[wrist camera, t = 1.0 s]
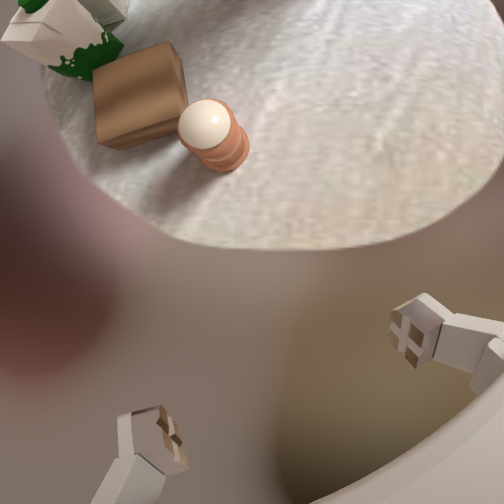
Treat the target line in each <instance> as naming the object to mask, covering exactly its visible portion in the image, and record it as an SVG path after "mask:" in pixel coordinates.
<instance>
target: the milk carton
mask: <svg viewBox="0 0 504 504" xmlns="http://www.w3.org/2000/svg"><path fill="white" fill-rule="evenodd" d="M18 5H19V6H20V8H19V9H18V11H17V12H16V14H15V15H14V16H13V18H12V20H11V21H10V25H9V27H8V28H7V30H6V32H5V33H4V35H3V37H2V39H1V42H3V43H5V44H7V45H9V46H11V47H12V48H14V49H15V50H17V51H19V52H21V53H22V54H24V55H26V56H28V57H29V58H31V59H33V60H35V61H37V62H39V63H41V64H43V65H44V66H46V67H48V68H50V69H52V70H54V71H56V72H57V73H59V74H61V75H64V76H68V77H73V78H78V79H82V80H87V81H91V82H93V70H94V69H97V68H99V67H101V66H103V65H106V64H108V63H110V62H113V61H115V60H116V58H117V57H118V55H119V53H120V51H121V50H122V48H123V46H124V45H123V44H122V43H121V42H120V41H119V40H118V39H117V38H116V37H115V36H114V35H113V34H112V33H110V32H109V31H108V30H107V29H106V28H105V27H104V26H103V25H102V24H101V23H100V22H99V21H98V20H97V19H96V18H95V17H94V16H93V15H91V14H90V13H89V12H88V11H87V10H86V9H85V8H84V7H83V6H82V5H81V4H80V3H79V2H78V1H77V0H18Z"/></svg>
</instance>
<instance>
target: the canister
mask: <svg viewBox="0 0 504 504" xmlns="http://www.w3.org/2000/svg"><path fill="white" fill-rule="evenodd" d="M177 132H178V137H179V139H180V141H181V143H182V144H183V145H184V146H185V147H186V148H187V149H188V150H190V151H191V152H193V153H194V154H196V155H197V156H199V159H200V160H201V162H202V163H203V164H204V165H205V166H207V167H208V168H210V169H212V170H214V171H218V172H228V171H232V170H234V169H236V168H238V167H239V166H240V165H241V164H242V163H243V162H244V161H245V159H246V158H247V155H248V152H249V140H248V137H247V135H246V133H245V131H244V130H243V129H242V128H241V127H240V126H239V125H238V124H237V122H236V119H235V117H234V115H233V112H232V111H231V109H230V108H229V107H228V106H227V105H226V104H225V103H223V102H221V101H219V100H216V99H201V100H198V101H196V102H194V103H192V104H190V105H189V106H188V107H187V108H186V109H185V110H184V111H183V112H182V114H181V116H180V118H179V121H178V125H177Z"/></svg>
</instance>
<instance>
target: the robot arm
mask: <svg viewBox="0 0 504 504" xmlns="http://www.w3.org/2000/svg"><path fill="white" fill-rule="evenodd" d="M390 320H391V321H393V322H392V324H391V325H390V327H389V334H388V335H389V338H390V341H391V343H392V345H393V346H394V347H395V348H396V349H397V351H401V352H405V359H406V360H407V361H408V362H409V363H410V364H411V365H412V366H413V367H414V368H415V369H417V368H419V367H420V366H422V365H423V364H425V363H427V362H428V361H430V360H431V359H433V360H435V361H438V362H441V363H443V364H446V365H449V366H451V367H454V368H457V369H460V370H463V371H465V372H468V373H471V374H474V377H473V379H472V381H471V383H470V388H471V390H472V391H473V392H474V393H475V394H476V395H477V396H478V397H477V398H476V399H475V400H474V401H472V402H471V403H470V404H469V405H468V406H467V407H466V408H464V409H463V410H462V411H461V412H460V413H458V414H457V415H456V416H455V417H454V418H452V419H451V420H450V421H449V422H447V423H446V424H445V425H444V426H442V427H441V428H440V429H438V430H437V431H436V432H434V433H433V434H432V435H430V436H429V437H428V438H426V439H425V440H423V441H422V442H421V443H419V444H418V445H416V446H415V447H413V448H412V449H410V450H409V451H408V452H406V453H404V454H403V455H402V456H400V457H398V458H397V459H395V460H393V461H392V462H390V463H388V464H387V465H385V466H383V467H382V468H380V469H378V470H377V471H375V472H373V473H371V474H370V475H368V476H366V477H364V478H362V479H360V480H358V481H357V482H355V483H353V484H351V485H349V486H347V487H345V488H343V489H341V490H339V491H337V492H335V493H333V494H331V495H328V496H326V497H324V498H322V499H319V500H317V501H315V502H312V503H310V504H504V322H499V321H494V320H489V319H484V318H479V317H474V316H469V315H463V314H459V313H457V314H455V315H454V314H453V313H451V312H450V311H449V310H448V309H446V308H445V307H444V306H443V305H441V304H440V303H439V302H437V301H436V300H435V299H434V298H432V297H431V296H429V295H428V294H427V293H422V294H420V295H419V296H417V297H415V298H414V299H412V300H409V301H408V302H406V303H404V304H402V305H401V306H399V307H397V308H395V309H394V310H392V312H391V314H390ZM117 434H118V435H117V436H118V452H119V458H116V459H114V461H113V463H112V465H111V467H110V469H109V470H108V472H107V474H106V476H105V478H104V480H103V482H102V483H101V485H100V487H99V489H98V491H97V493H96V494H95V496H94V498H93V500H92V502H91V504H157V503H158V500H159V497H160V494H161V491H162V488H163V485H164V481H165V479H166V476H167V475H171V474H175V473H179V472H182V471H186V470H189V468H188V464H187V459H186V455H185V453H184V452H183V450H182V449H181V448H180V446H181V444H182V437H181V434H180V431H179V428H178V426H177V424H176V423H175V421H174V420H173V418H172V417H169V416H167V412H166V409H165V408H164V407H163V406H162V405H160V406H156V407H151V408H147V409H143V410H139V411H135V412H131V413H126V414H122V415H119V416H118V419H117Z"/></svg>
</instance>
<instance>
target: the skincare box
mask: <svg viewBox="0 0 504 504" xmlns="http://www.w3.org/2000/svg"><path fill="white" fill-rule="evenodd" d="M77 1H78V2H79V3H80V4H81V5H82V6H83V7H84V8H85V9H86V10H87V11H88V12H89V13H90V14H91V15H93V16H94V17H95V18H96V19H97V20H98V21H99V22H100V23H101V24H102V25H103V26H105V25H108V24H111V23H115V22H118V21H121V20H124V19H126V17H127V11H128V6H129V1H130V0H77Z"/></svg>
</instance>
